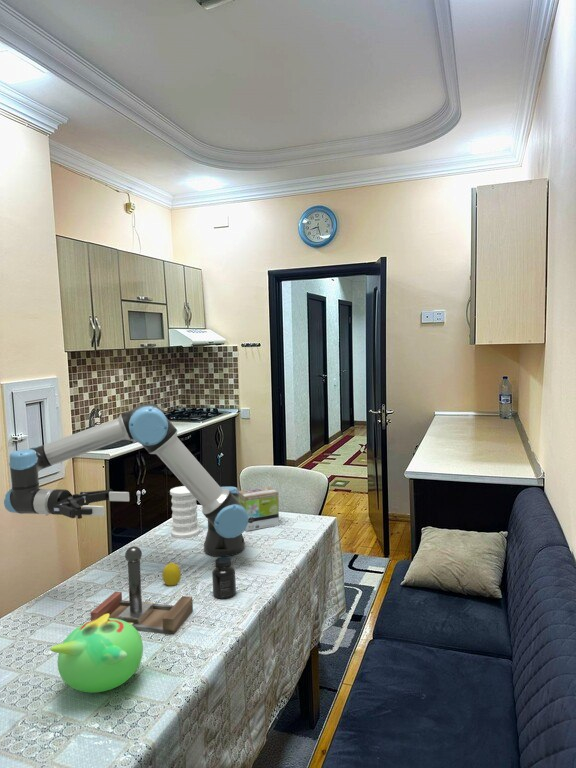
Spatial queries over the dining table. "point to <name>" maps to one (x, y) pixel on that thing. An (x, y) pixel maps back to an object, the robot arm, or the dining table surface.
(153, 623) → the press base
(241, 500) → the tea box
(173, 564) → the lemon
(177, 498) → the decorative container
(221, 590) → the supplement bottle
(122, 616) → the press handle
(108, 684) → the toy bird
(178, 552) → the dining table surface
